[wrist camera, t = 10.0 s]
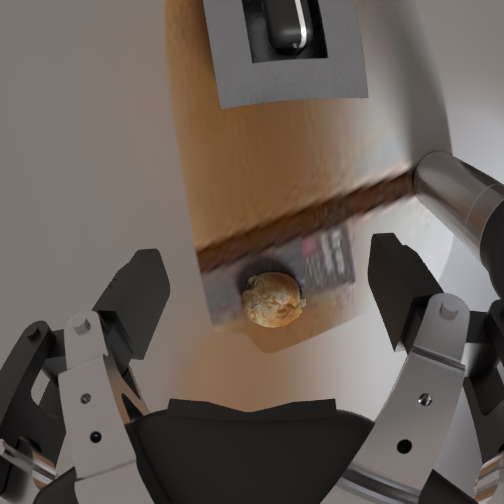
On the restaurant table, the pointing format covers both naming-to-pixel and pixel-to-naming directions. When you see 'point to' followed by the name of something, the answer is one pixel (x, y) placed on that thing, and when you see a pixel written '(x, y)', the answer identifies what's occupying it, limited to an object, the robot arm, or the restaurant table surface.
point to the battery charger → (288, 25)
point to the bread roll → (272, 299)
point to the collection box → (280, 66)
